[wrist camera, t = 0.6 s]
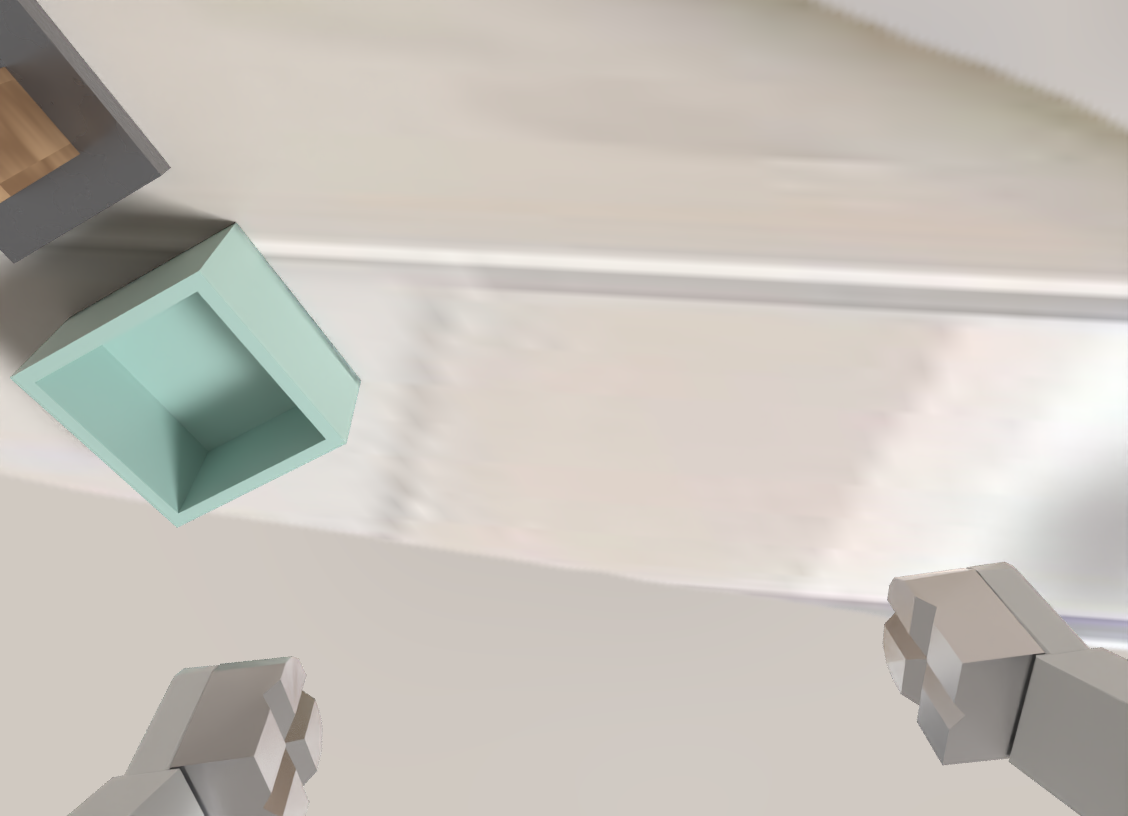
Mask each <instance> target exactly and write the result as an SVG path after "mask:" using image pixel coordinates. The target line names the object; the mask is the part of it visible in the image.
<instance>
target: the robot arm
mask: <svg viewBox="0 0 1128 816" xmlns="http://www.w3.org/2000/svg"><path fill="white" fill-rule="evenodd" d="M887 600H888V602H889V603H890V605H891V607H892V608H893V610H894V611H895V613H894V614H893V616H892V617H891V618H890V619H889V620H888V621H887V622H886V623H885V624H884V634H883V647H884V653H885V658H886V663H887V666H888V669H889V671H890V674H891V676H892V679H893V681H894V682H895V684H896V686H897V688H898V690H899V691H900V693H901V694H902V695H904V696H905V697H907V698H908V699H910V700H911V701H913V702H915V703H916V704H918V705H919V712H918V719H917V723H918V724H919V726H920V727H921V729H922V731H923V733H924V734H925V736H926V738H927V740H928V741H929V743H930V745H931V746H932V748H933V750H934V752H935V753H936V755H937V757H938V758H939V760H940V762H941V763H942V765H949V764H959V763H969V762H978V761H987V760H998V759H1007V758H1010V759H1009V762H1010V763H1011V764H1013V765H1014V766H1015V767H1017V768H1018V769H1019V770H1021V771H1022V772H1023V773H1024V774H1026V775H1027V776H1028V777H1030V778H1031V779H1032V780H1034V781H1035V782H1037V783H1038V784H1039V785H1040V786H1042V787H1043V788H1045V789H1046V790H1047V791H1048V792H1050V793H1051V794H1052V795H1054V796H1055V797H1056V798H1058V799H1059V800H1060V801H1062V802H1063V803H1064V804H1066V805H1067V806H1068V807H1070V808H1071V809H1072V810H1074V811H1075V812H1076V813H1078V814H1079V815H1080V816H1128V659H1125V658H1123V657H1121V656H1119V655H1117V654H1115V653H1113V652H1111V651H1108V650H1106V649H1104V648H1102V647H1100V648H1091V649H1090V648H1089V647H1088V646H1087V645H1086V644H1085V643H1084V642H1083V640H1082V639H1081V638H1080V637H1079V636H1078V635H1077V634H1076V633H1075V632H1074V631H1073V630H1072V629H1071V628H1070V626H1069V625H1068V624H1067V623H1066V622H1065V621H1064V620H1063V619H1062V618H1061V617H1060V616H1059V615H1058V614H1057V612H1056V611H1055V610H1054V609H1053V608H1052V607H1051V606H1050V605H1049V604H1048V603H1047V602H1046V601H1045V599H1044V598H1043V597H1042V596H1041V595H1040V594H1039V593H1038V592H1037V591H1036V590H1035V589H1034V588H1033V587H1032V585H1031V584H1030V583H1029V582H1028V581H1027V580H1026V579H1025V578H1024V577H1023V576H1022V575H1021V574H1020V573H1019V571H1018V570H1017V569H1016V568H1015V567H1014V566H1012V565H1010V564H1008V563H1006V562H1000V563H993V564H986V565H979V566H972V567H967V568H960V569H953V570H945V571H938V572H931V573H924V574H917V575H910V576H902V577H895V578H894V579H893V580H892V582H891V584H890V585H889V592H888V599H887ZM305 679H306V673H305V671H304V669H303V666H302V664H301V662H300V660H299V658H296V657H292V656H291V657H281V658H272V659H264V660H253V661H243V662H234V663H225V664H220V665H214V666H204V667H194V668H184V669H183V670H181V671H180V672H179V673H178V674H177V675H175V676H174V678H173V680H172V681H171V684H170V685H169V687H168V689H167V691H166V693H165V695H164V697H163V699H162V701H161V703H160V705H159V707H158V709H157V711H156V713H155V715H154V717H153V719H152V721H151V723H150V725H149V727H148V729H147V731H146V733H145V735H144V737H143V739H142V741H141V743H140V745H139V747H138V749H137V751H136V753H135V755H134V757H133V759H132V761H131V763H130V765H129V767H128V769H127V771H126V773H125V775H124V776H118V777H112V778H111V779H110V780H109V781H107V783H105V784H104V785H103V786H102V787H100V788H99V789H98V790H97V791H96V792H95V793H94V794H92V795H91V796H90V797H89V798H88V799H86V800H85V801H84V802H83V803H82V804H81V805H79V806H78V807H77V808H76V809H75V810H74V811H72V812H71V813H70V814H69V815H68V816H306V813H307V809H308V805H309V800H308V798H307V795H306V792H305V790H304V787H303V786H304V784H305V783H306V782H307V781H308V780H309V779H310V778H311V777H312V776H313V775H314V774H315V772H316V771H317V768H318V764H319V760H320V756H321V751H322V722H321V716H320V711H319V708H318V705H317V703H316V700H315V698H313V697H311V696H310V695H308V694H307V693H305V692H304V691H302V689H303V686H304V683H305Z"/></svg>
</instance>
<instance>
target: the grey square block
mask: <svg viewBox="0 0 1128 816" xmlns="http://www.w3.org/2000/svg"><path fill="white" fill-rule="evenodd" d="M3 67H5V68H6V69H7V70H8V71H9V72H10V74H11V75H12V76H13V77H14V78H15V79H16V80H17V82H18V83H19V84H20V85H21V86H22V87H23V89H24V90H25V91H26V92H27V93H28V94H29V95H30V97H31V98H32V99H33V100H34V101H35V102H36V104H37V105H38V106H39V107H40V108H41V109H42V110H43V112H44V113H45V114H46V115H47V116H48V117H49V118H50V120H51V121H52V122H53V123H54V124H55V125H56V127H57V128H58V129H59V130H60V131H61V132H62V133H63V135H64V136H65V137H66V138H67V139H68V140H69V142H70V143H71V144H72V145H73V146H74V147H75V148H76V150H77V151H78V152H79V153H80V154H79V155H78V156H76V157H74V158H73V159H71V160H70V161H68V162H66V163H65V164H63V165H61V166H60V167H58V168H57V169H55V170H53V171H52V172H50V173H48V174H47V175H45V176H44V177H42V178H40V179H39V180H37V181H35V182H34V183H32V184H31V185H29V186H27V187H26V188H24V189H22V190H21V191H19V192H18V193H16V194H14V195H13V196H11V197H9V198H8V199H6V200H5V201H3V202H1V203H0V250H1V251H2V252H3V253H4V254H5V255H6V256H7V257H8V258H9V259H10V260H11V261H12V262H13V263H16V262H17V261H19V260H21V259H22V258H24V257H26V256H27V255H29V254H31V253H32V252H34V251H36V250H37V249H39V248H41V247H42V246H44V245H46V244H47V243H49V242H51V241H52V240H54V239H56V238H57V237H59V236H61V235H63V234H64V233H66V232H68V231H69V230H71V229H73V228H74V227H76V226H78V225H79V224H81V223H83V222H84V221H86V220H88V219H89V218H91V217H93V216H94V215H96V214H98V213H99V212H101V211H103V210H104V209H106V208H108V207H109V206H111V205H113V204H114V203H116V202H118V201H119V200H121V199H123V198H125V197H126V196H128V195H130V194H131V193H133V192H135V191H136V190H138V189H140V188H141V187H143V186H145V185H146V184H148V183H150V182H151V181H153V180H155V179H156V178H158V177H160V176H161V175H163V174H164V173H165V172H166V171H167V170H169V169H170V168H171V167H170V166H169V165H168V164H167V162H166V161H165V160H164V159H163V157H162V156H161V155H160V154H159V152H158V151H157V150H156V149H155V147H154V146H153V145H152V144H151V142H150V141H149V140H148V139H147V138H146V136H145V135H144V134H143V133H142V131H141V130H140V129H139V128H138V126H137V125H136V124H135V123H134V121H133V120H132V119H131V118H130V116H129V115H128V114H127V113H126V112H125V110H124V109H123V108H122V107H121V105H120V104H119V103H118V102H117V100H116V99H115V98H114V97H113V95H112V94H111V93H110V92H109V90H108V89H107V88H106V87H105V85H104V84H103V83H102V82H101V81H100V79H99V78H98V77H97V76H96V74H95V73H94V72H93V71H92V69H91V68H90V67H89V66H88V64H87V63H86V62H85V61H84V59H83V58H82V57H81V56H80V55H79V53H78V52H77V51H76V50H75V48H74V47H73V46H72V45H71V43H70V42H69V41H68V40H67V38H66V37H65V36H64V35H63V33H62V32H61V31H60V30H59V29H58V27H57V26H56V25H55V24H54V22H53V21H52V20H51V19H50V17H49V16H48V15H47V14H46V12H45V11H44V10H43V9H42V7H41V6H40V5H39V4H38V2H37V1H36V0H0V68H3Z"/></svg>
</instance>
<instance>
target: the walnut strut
mask: <svg viewBox="0 0 1128 816" xmlns="http://www.w3.org/2000/svg"><path fill="white" fill-rule="evenodd" d="M79 154H80V153H79V152H78V151H77V150H76V148H75V147H74V146H73V145H72V144H71V143H70V142H69V140H68V139H67V138H66V137H65V136H64V135H63V133H62V132H61V131H60V130H59V129H58V128H57V127H56V125H55V124H54V123H53V122H52V121H51V120H50V118H49V117H48V116H47V115H46V114H45V113H44V112H43V110H42V109H41V108H40V107H39V106H38V105H37V104H36V102H35V101H34V100H33V99H32V98H31V97H30V95H29V94H28V93H27V92H26V91H25V90H24V89H23V87H22V86H21V85H20V84H19V83H18V82H17V80H16V79H15V78H14V77H13V76H12V75H11V74H10V72H9V71H8V70H7V69H6V68H5V67H3V68H0V203H1V202H3V201H5V200H6V199H8V198H9V197H11V196H13V195H14V194H16V193H18V192H19V191H21V190H22V189H24V188H26V187H27V186H29V185H31V184H32V183H34V182H35V181H37V180H39V179H40V178H42V177H44V176H45V175H47V174H48V173H50V172H52V171H53V170H55V169H57V168H58V167H60V166H61V165H63V164H65V163H66V162H68V161H70V160H71V159H73V158H74V157H76V156H78V155H79Z"/></svg>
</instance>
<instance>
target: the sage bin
mask: <svg viewBox="0 0 1128 816" xmlns="http://www.w3.org/2000/svg"><path fill="white" fill-rule="evenodd" d="M10 378H11V379H12V380H13V381H14V382H15V383H16V384H17V385H18V386H19V387H21V388H22V389H23V390H24V391H25V392H26V393H27V394H28V395H30V396H31V397H32V398H33V399H34V400H35V401H36V402H37V403H38V404H40V405H41V406H42V407H43V408H44V409H45V410H46V411H47V412H48V413H50V414H51V415H52V416H53V417H54V418H55V419H56V420H57V421H59V422H60V423H61V424H62V425H63V426H64V427H65V428H66V429H67V430H69V431H70V432H71V433H72V434H73V435H74V436H75V437H76V438H78V439H79V440H80V441H81V442H82V443H83V444H84V445H85V446H86V447H88V448H89V449H90V450H91V451H92V452H93V453H94V454H95V455H96V456H98V457H99V458H100V459H101V460H102V461H103V462H104V463H105V464H107V465H108V466H109V467H110V468H111V469H112V470H113V471H114V472H115V473H117V474H118V475H119V476H120V477H121V478H122V479H123V480H124V481H126V482H127V483H128V484H129V485H130V486H131V487H132V488H133V489H134V490H136V491H137V492H138V493H139V494H140V495H141V496H142V497H143V498H144V499H146V500H147V501H148V502H149V503H150V504H151V505H152V506H153V507H155V508H156V509H157V510H158V511H159V512H160V513H161V514H162V515H163V516H165V517H166V518H167V519H168V520H169V521H170V522H171V523H172V524H173V525H175V526H176V527H180V526H181V525H184V524H185V523H188V522H190V521H192V520H194V519H196V518H198V517H200V516H202V515H204V514H206V513H208V512H210V511H212V510H214V509H216V508H218V507H220V506H222V505H224V504H226V503H228V502H230V501H232V500H234V499H236V498H238V497H240V496H242V495H244V494H246V493H248V492H250V491H252V490H254V489H256V488H258V487H260V486H262V485H264V484H266V483H268V482H270V481H272V480H274V479H276V478H278V477H280V476H282V475H284V474H286V473H288V472H290V471H292V470H294V469H296V468H298V467H300V466H302V465H304V464H306V463H308V462H310V461H312V460H314V459H316V458H318V457H320V456H322V455H324V454H326V453H328V452H330V451H332V450H334V449H336V448H338V447H340V446H342V445H344V444H346V443H347V439H348V435H349V430H350V426H351V422H352V417H353V413H354V409H355V404H356V400H357V396H358V391H359V387H360V383H361V380H360V379H359V377H358V376H357V375H356V374H355V372H354V371H353V370H352V368H351V367H350V366H349V365H348V363H347V362H346V361H345V360H344V358H343V357H342V356H341V355H340V353H339V352H338V351H337V349H336V348H335V347H334V346H333V344H332V343H331V342H330V341H329V339H328V338H327V337H326V336H325V334H324V333H323V332H322V330H321V329H320V328H319V327H318V325H317V324H316V323H315V322H314V320H313V319H312V318H311V317H310V315H309V314H308V313H307V312H306V310H305V309H304V308H303V306H302V305H301V304H300V303H299V301H298V300H297V299H296V298H295V296H294V295H293V294H292V293H291V291H290V290H289V289H288V287H287V286H286V285H285V284H284V282H283V281H282V280H281V279H280V277H279V276H278V275H277V274H276V272H275V271H274V270H273V268H272V267H271V266H270V265H269V263H268V262H267V261H266V260H265V258H264V257H263V256H262V255H261V253H260V252H259V251H258V249H257V248H256V247H255V246H254V244H253V243H252V242H251V241H250V239H249V238H248V237H247V236H246V234H245V233H244V232H243V230H242V229H241V228H240V227H239V225H238V224H237V223H234V224H232V225H231V226H229V227H227V228H225V229H224V230H222V231H220V232H218V233H217V234H215V235H213V236H211V237H210V238H208V239H206V240H204V241H203V242H201V243H199V244H197V245H196V246H194V247H192V248H190V249H189V250H187V251H185V252H183V253H182V254H180V255H178V256H176V257H175V258H173V259H171V260H169V261H168V262H166V263H164V264H162V265H161V266H159V267H157V268H155V269H154V270H152V271H150V272H148V273H147V274H145V275H143V276H141V277H140V278H138V279H136V280H134V281H133V282H131V283H129V284H127V285H126V286H124V287H122V288H120V289H119V290H117V291H115V292H113V293H112V294H110V295H108V296H106V297H105V298H103V299H101V300H99V301H98V302H96V303H94V304H93V305H91V306H89V307H87V308H86V309H84V310H82V311H80V312H79V313H77V314H75V315H73V316H72V317H70V318H69V319H68V320H67V321H66V322H65V323H64V324H63V325H62V326H61V327H60V328H59V329H58V330H57V331H56V332H55V333H54V334H53V335H52V336H51V337H50V338H49V339H48V340H47V341H46V342H45V343H44V344H43V345H42V346H41V347H40V348H39V349H38V350H37V351H36V352H35V353H34V354H33V355H32V356H31V357H30V358H29V359H28V360H27V361H26V362H25V363H24V364H23V365H22V366H21V367H20V368H19V369H18V370H17V371H16V372H15V373H14V374H13V375H12V376H11V377H10Z"/></svg>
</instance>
